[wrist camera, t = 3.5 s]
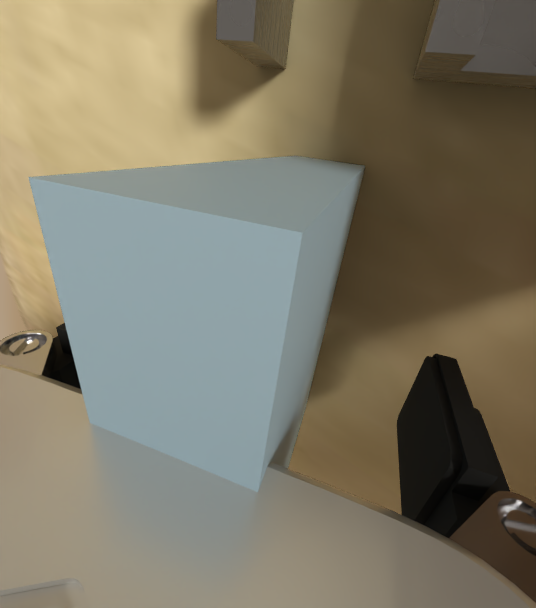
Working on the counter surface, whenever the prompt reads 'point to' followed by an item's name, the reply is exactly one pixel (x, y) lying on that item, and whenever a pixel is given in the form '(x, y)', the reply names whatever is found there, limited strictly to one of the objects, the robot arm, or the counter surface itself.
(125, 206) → the block
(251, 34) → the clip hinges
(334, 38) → the counter surface
